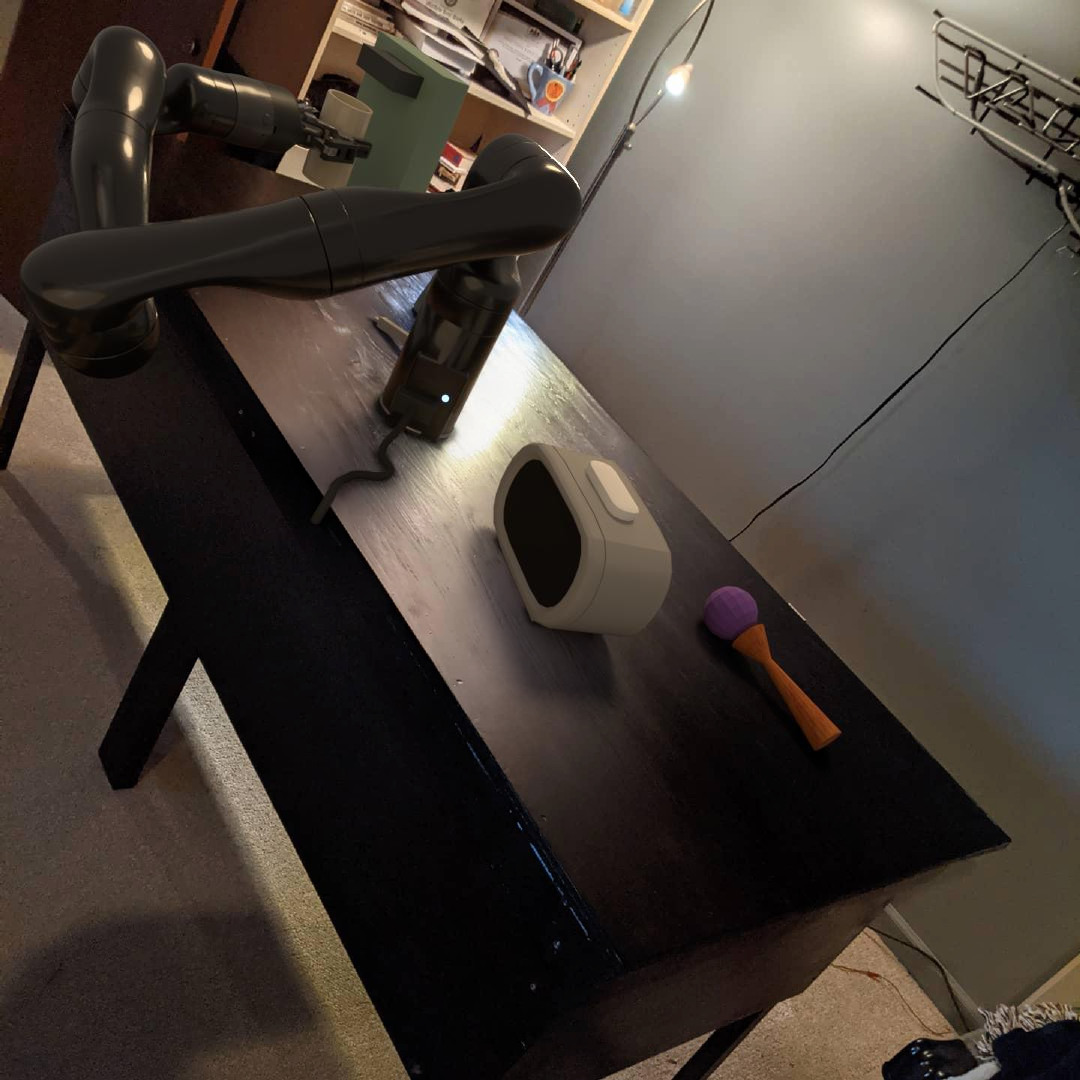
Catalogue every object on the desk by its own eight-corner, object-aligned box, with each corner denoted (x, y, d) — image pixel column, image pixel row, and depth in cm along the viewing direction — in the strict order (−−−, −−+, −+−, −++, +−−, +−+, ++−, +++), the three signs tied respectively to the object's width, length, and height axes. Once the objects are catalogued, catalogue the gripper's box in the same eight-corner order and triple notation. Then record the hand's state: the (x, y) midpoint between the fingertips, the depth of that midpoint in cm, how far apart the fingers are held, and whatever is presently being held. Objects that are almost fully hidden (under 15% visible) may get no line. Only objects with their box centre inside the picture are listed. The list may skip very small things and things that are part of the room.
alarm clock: (478, 512, 92) (534, 412, 85) (550, 526, 97) (608, 433, 90) (537, 655, 78) (610, 549, 71) (618, 663, 83) (693, 564, 76)
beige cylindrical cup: (340, 196, 114) (369, 116, 108) (297, 175, 112) (324, 92, 107) (347, 186, 119) (375, 109, 113) (306, 165, 117) (332, 86, 112)
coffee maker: (319, 260, 124) (392, 57, 109) (263, 211, 128) (326, 9, 113) (395, 266, 137) (470, 85, 122) (342, 221, 141) (407, 41, 126)
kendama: (826, 735, 83) (709, 581, 93) (793, 764, 87) (684, 613, 96) (862, 718, 86) (745, 571, 96) (828, 747, 90) (720, 603, 100)
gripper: (208, 115, 105) (311, 138, 118) (277, 174, 100) (377, 191, 114) (224, 53, 101) (329, 84, 115) (297, 111, 97) (397, 137, 110)
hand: (352, 138), depth 114 cm, fingers closed on beige cylindrical cup, 6 cm apart
